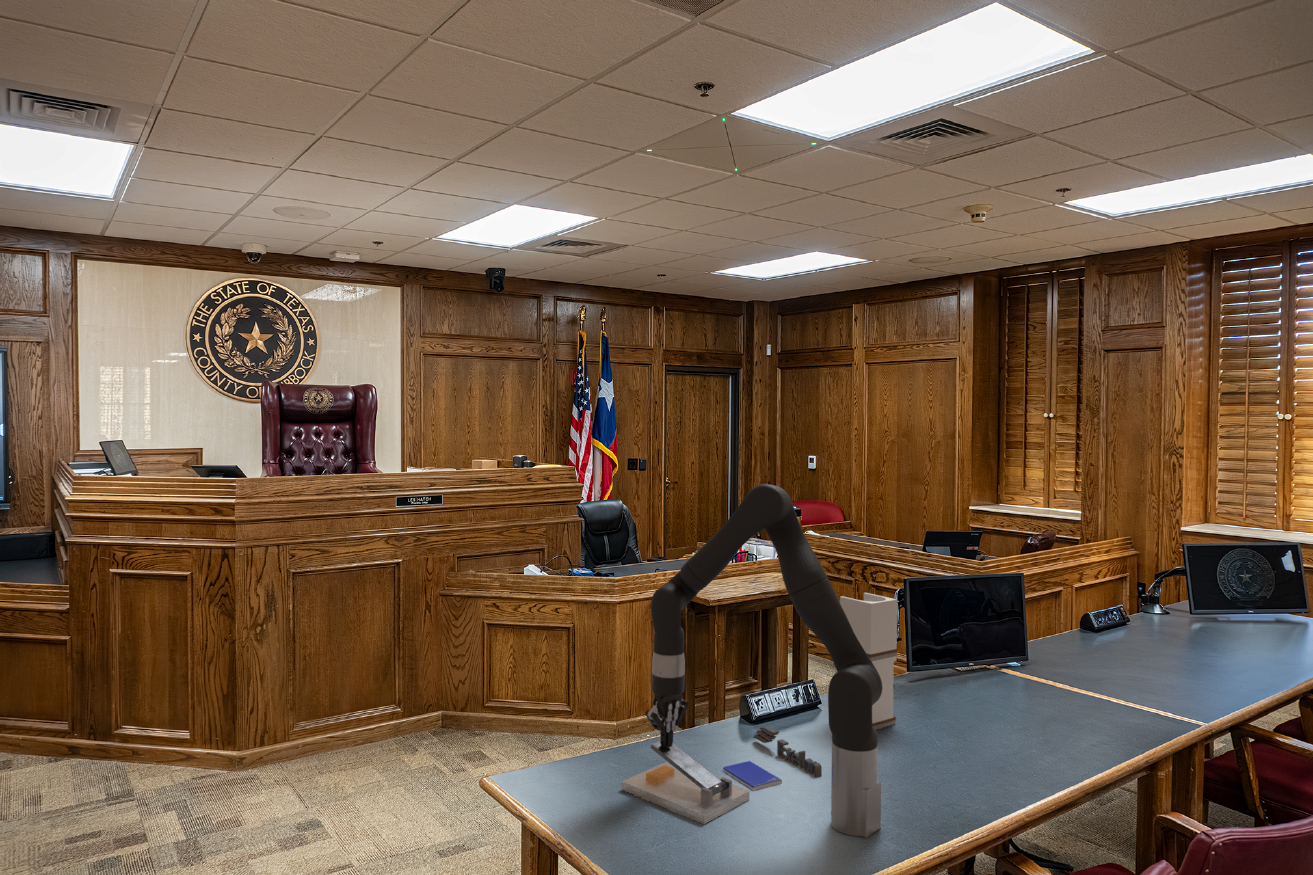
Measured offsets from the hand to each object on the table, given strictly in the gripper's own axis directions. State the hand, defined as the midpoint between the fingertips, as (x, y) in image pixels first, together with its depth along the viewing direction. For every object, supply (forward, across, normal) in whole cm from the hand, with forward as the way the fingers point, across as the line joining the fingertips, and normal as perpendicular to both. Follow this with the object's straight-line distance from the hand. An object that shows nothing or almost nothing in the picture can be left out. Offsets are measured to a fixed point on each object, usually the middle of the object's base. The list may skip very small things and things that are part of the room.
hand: (666, 746), depth 190 cm
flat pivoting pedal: (+4, 0, -6) cm, 7 cm away
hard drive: (+10, +18, -11) cm, 24 cm away
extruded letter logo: (+10, +33, -10) cm, 36 cm away
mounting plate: (+9, 0, -6) cm, 11 cm away
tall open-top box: (+9, +71, -13) cm, 73 cm away
